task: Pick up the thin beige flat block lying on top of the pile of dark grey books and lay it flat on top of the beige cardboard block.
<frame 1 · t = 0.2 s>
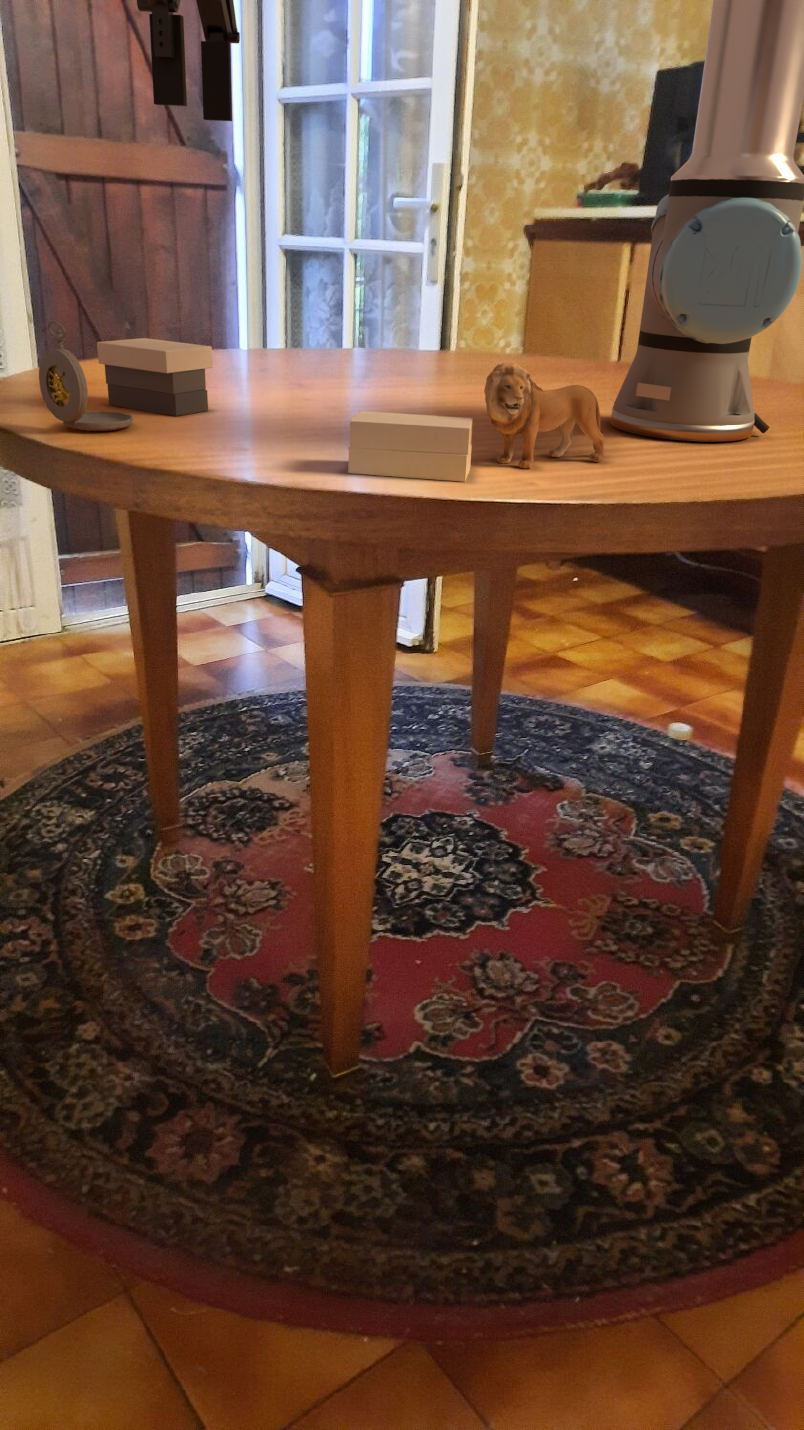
hand: (195, 114, 94), 28 cm above the table, tool pointing down, fingers open, 13 cm apart
pocket watch: (87, 430, 99), on the table
beige flat block: (155, 365, 110), point 4 cm above the table, touching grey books
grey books: (158, 407, 112), on the table
beige cardboard block: (410, 471, 88), on the table
lion figurine: (541, 465, 93), on the table
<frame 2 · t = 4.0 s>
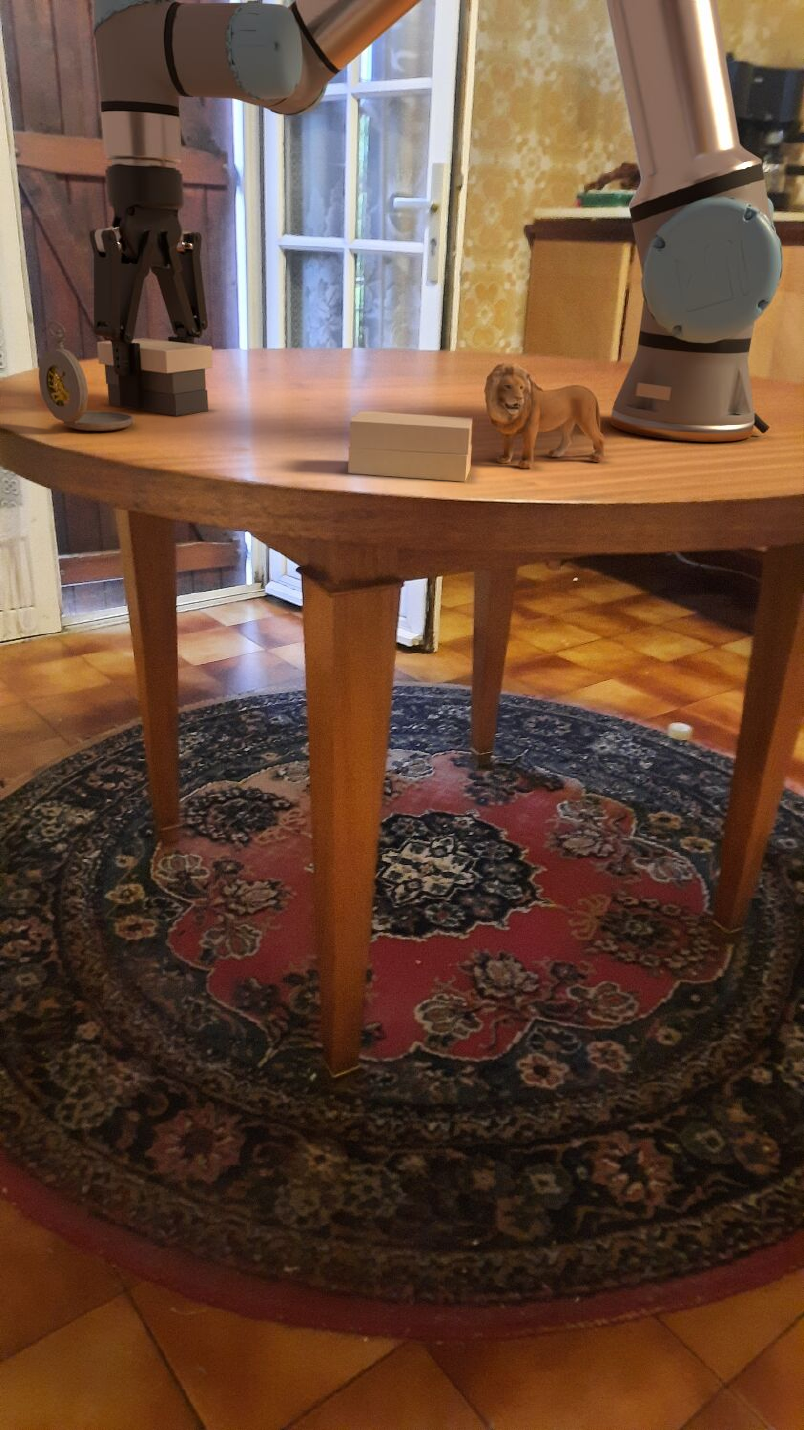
hand: (158, 402, 111), 1 cm above the table, tool pointing down, fingers closed on beige flat block, 7 cm apart
beige flat block: (155, 365, 110), point 4 cm above the table, touching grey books, gripper
everything else where it was.
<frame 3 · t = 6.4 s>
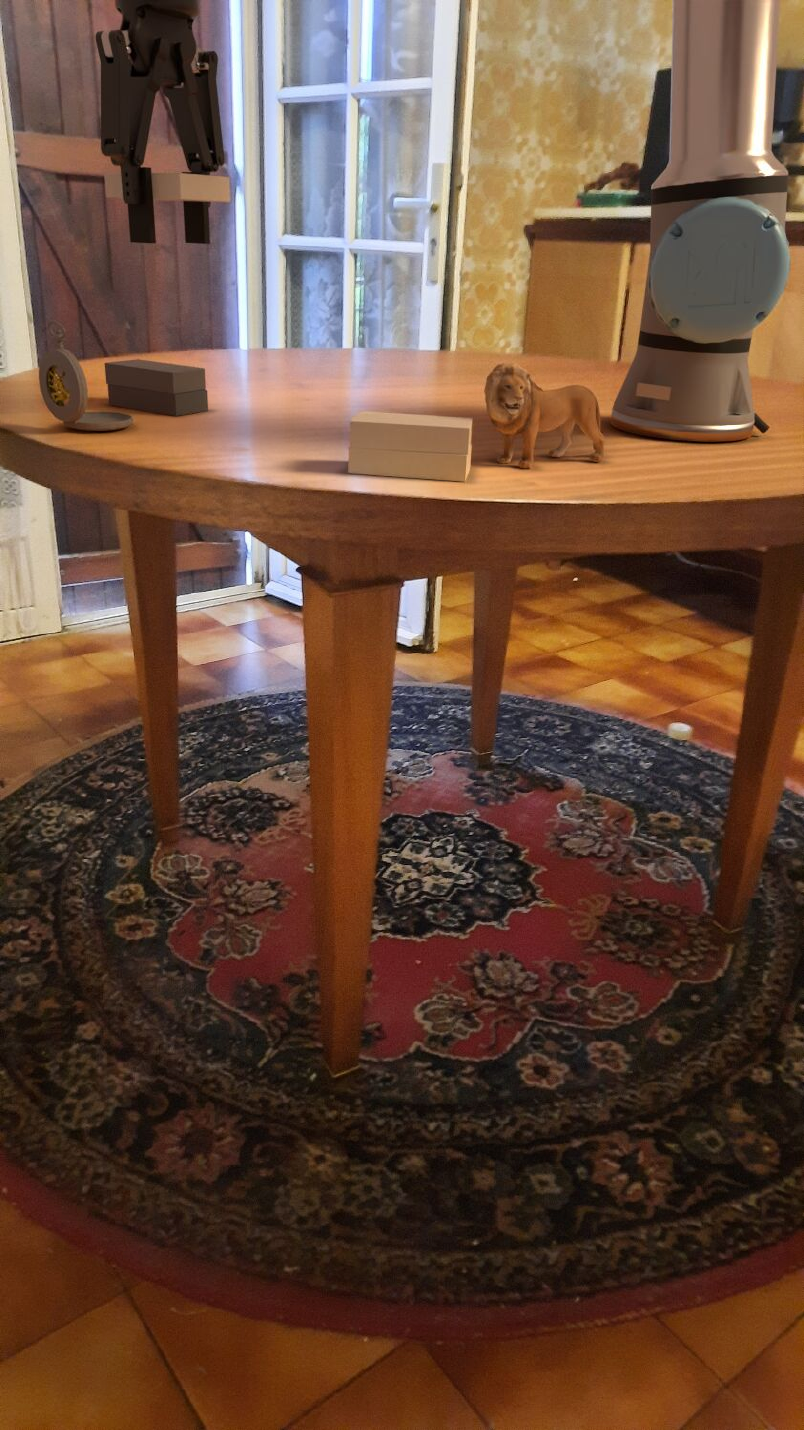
hand: (171, 242, 102), 17 cm above the table, tool pointing down, fingers closed on beige flat block, 7 cm apart
beige flat block: (168, 200, 101), point 20 cm above the table, touching gripper
everything else where it was.
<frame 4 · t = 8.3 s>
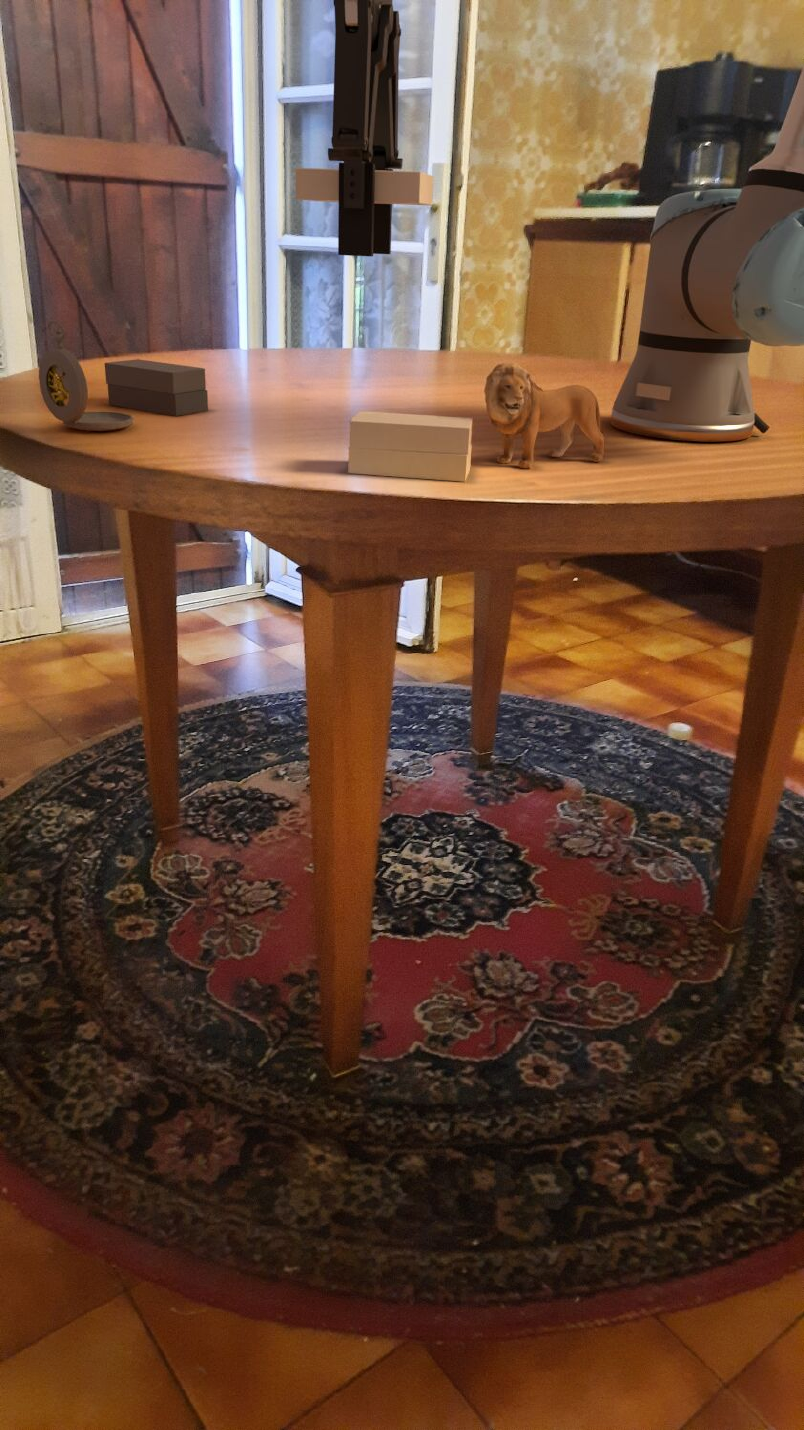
hand: (365, 254, 85), 17 cm above the table, tool pointing down, fingers closed on beige flat block, 7 cm apart
beige flat block: (365, 202, 83), point 21 cm above the table, touching gripper
everything else where it was.
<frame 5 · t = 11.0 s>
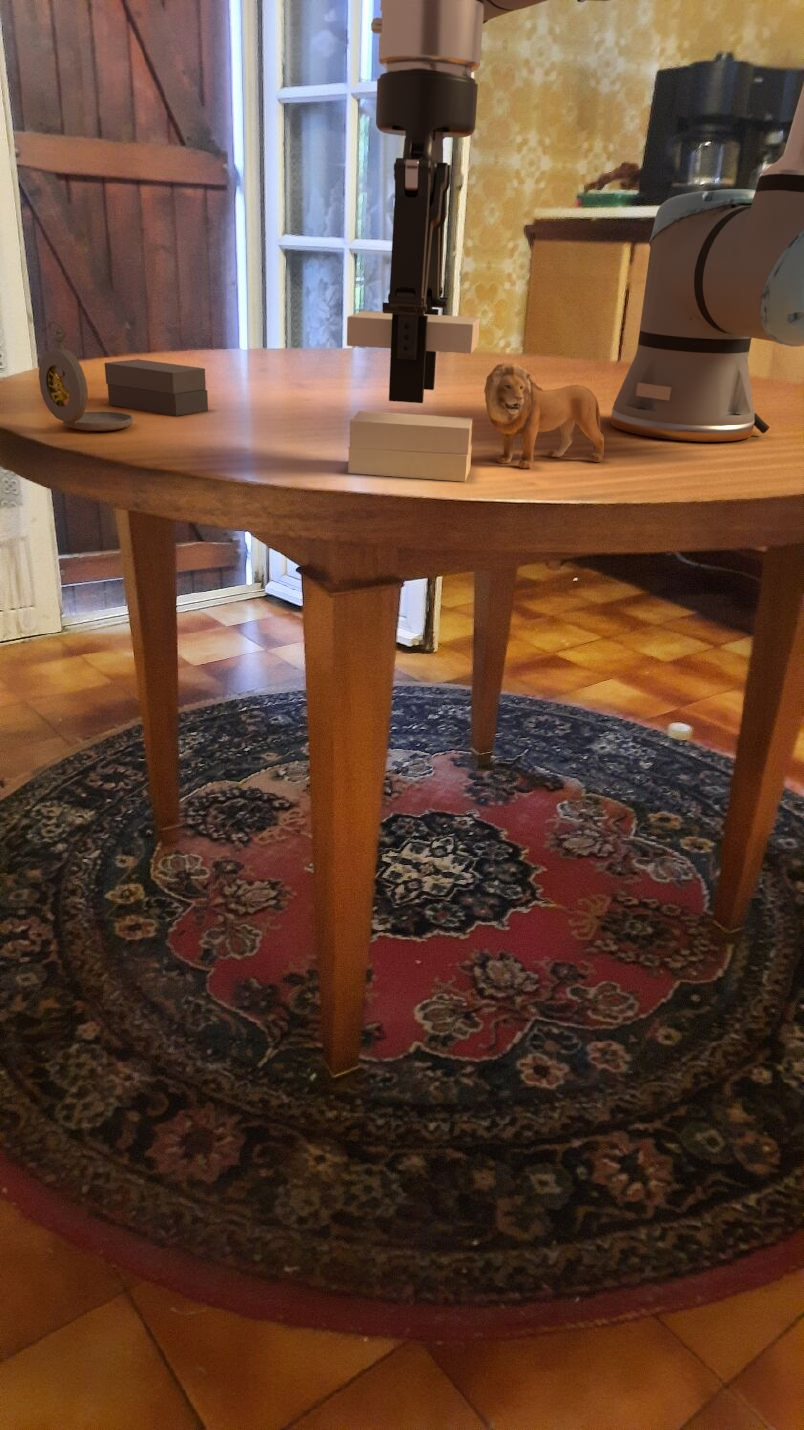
hand: (412, 394, 85), 6 cm above the table, tool pointing down, fingers closed on beige flat block, 7 cm apart
beige flat block: (414, 345, 84), point 10 cm above the table, touching gripper
everything else where it was.
when the fingers open (0 cm above the table, at t = 12.9 s): beige flat block stays where it is, resting on beige cardboard block.
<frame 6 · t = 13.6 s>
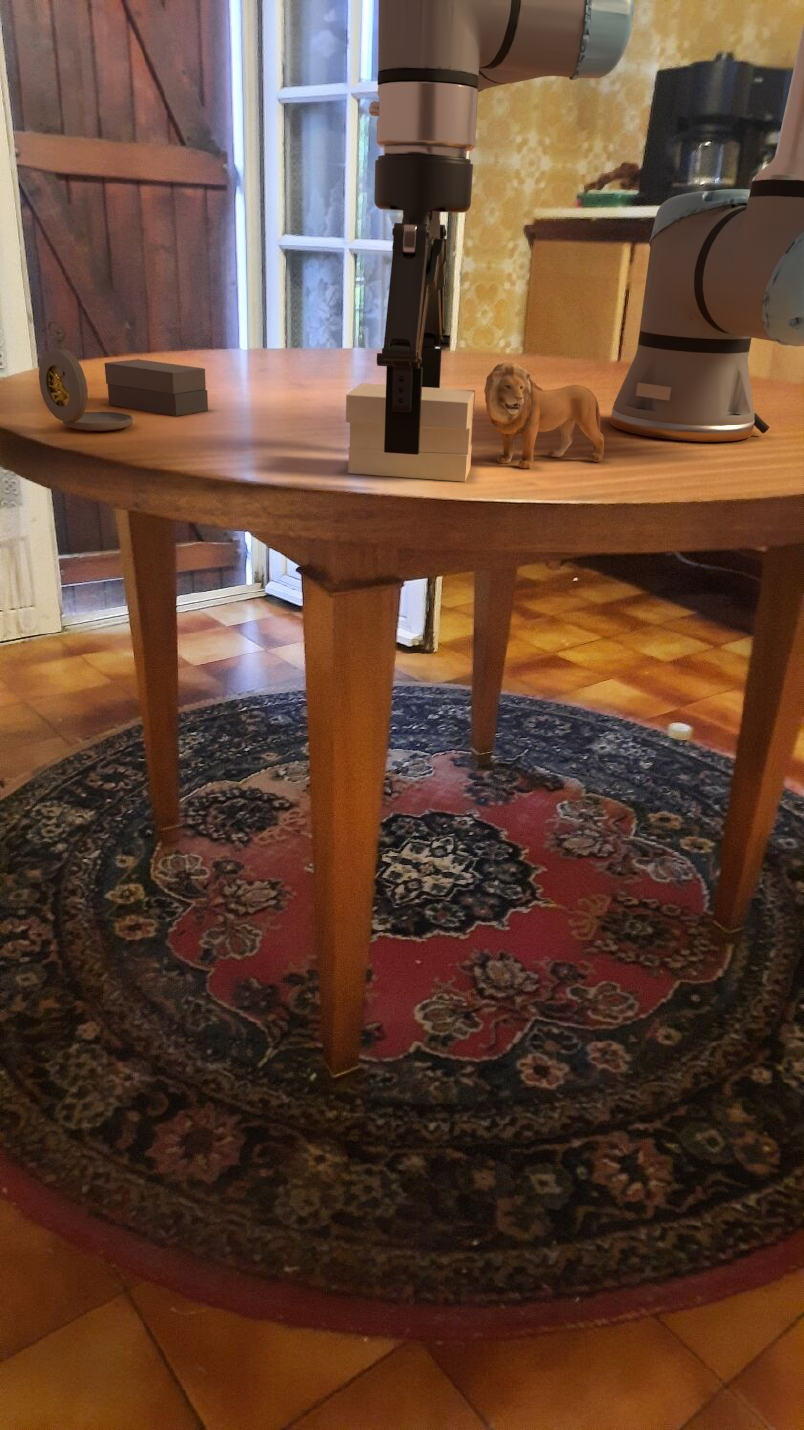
hand: (412, 437, 87), 3 cm above the table, tool pointing down, fingers open, 13 cm apart
beige flat block: (411, 419, 86), point 4 cm above the table, touching beige cardboard block
everything else where it was.
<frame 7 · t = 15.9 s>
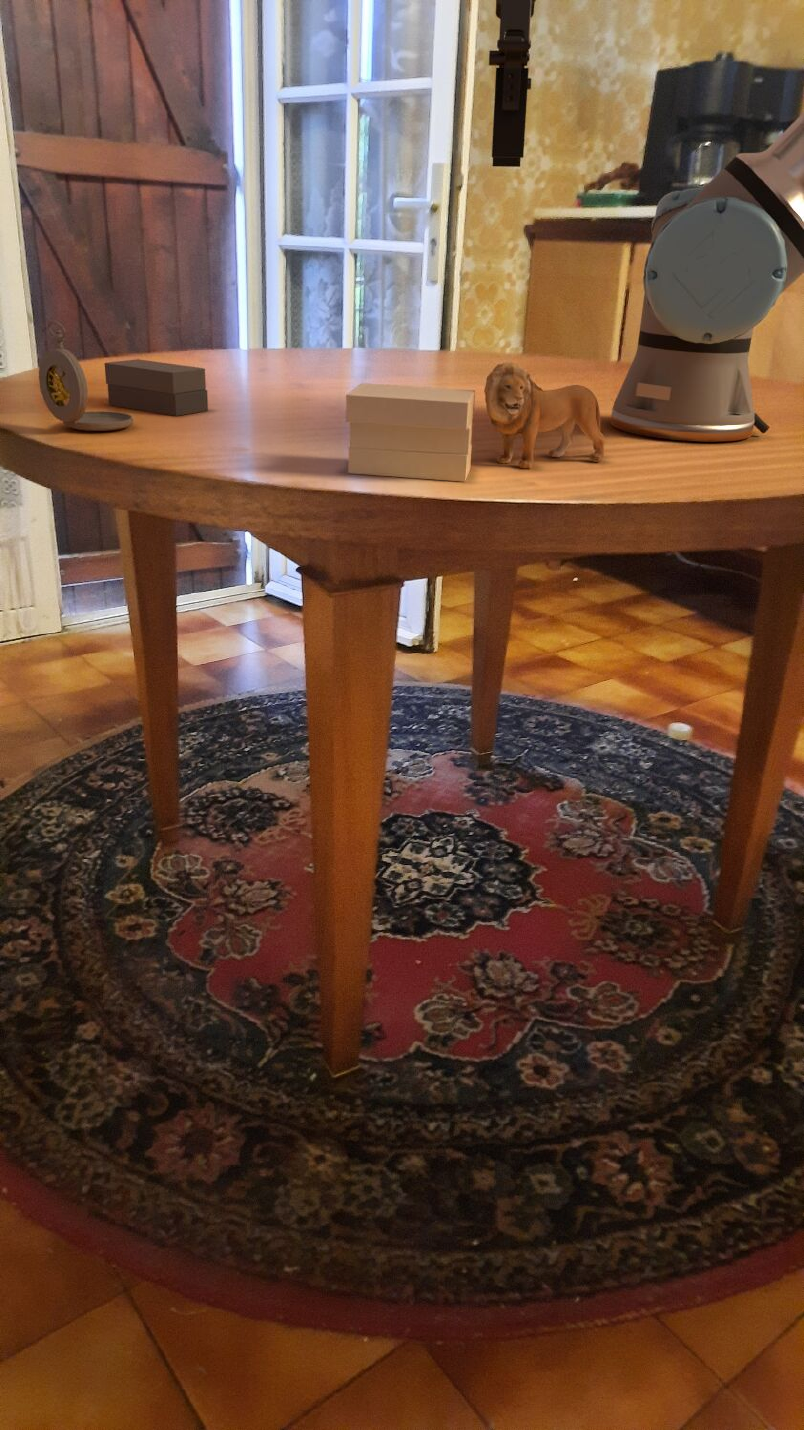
hand: (506, 163, 94), 25 cm above the table, tool pointing down, fingers open, 13 cm apart
nothing on the table moved.
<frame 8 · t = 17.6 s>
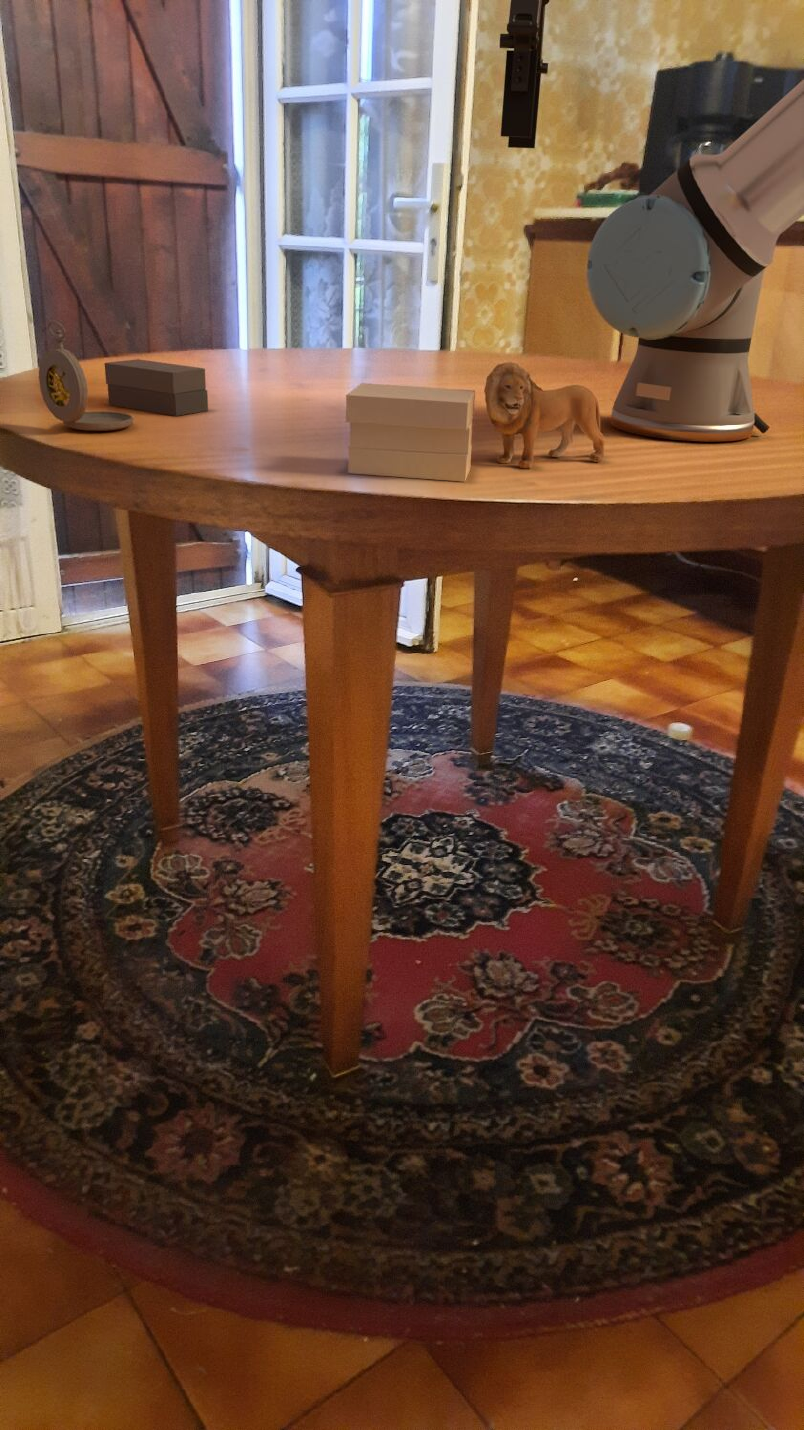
hand: (518, 143, 98), 27 cm above the table, tool pointing down, fingers open, 13 cm apart
nothing on the table moved.
at the end: beige flat block 0.1 cm off-centre on the beige cardboard block, point 4.4 cm above the beige cardboard block's base; beige flat block tilted 0°; the gripper is holding nothing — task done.
